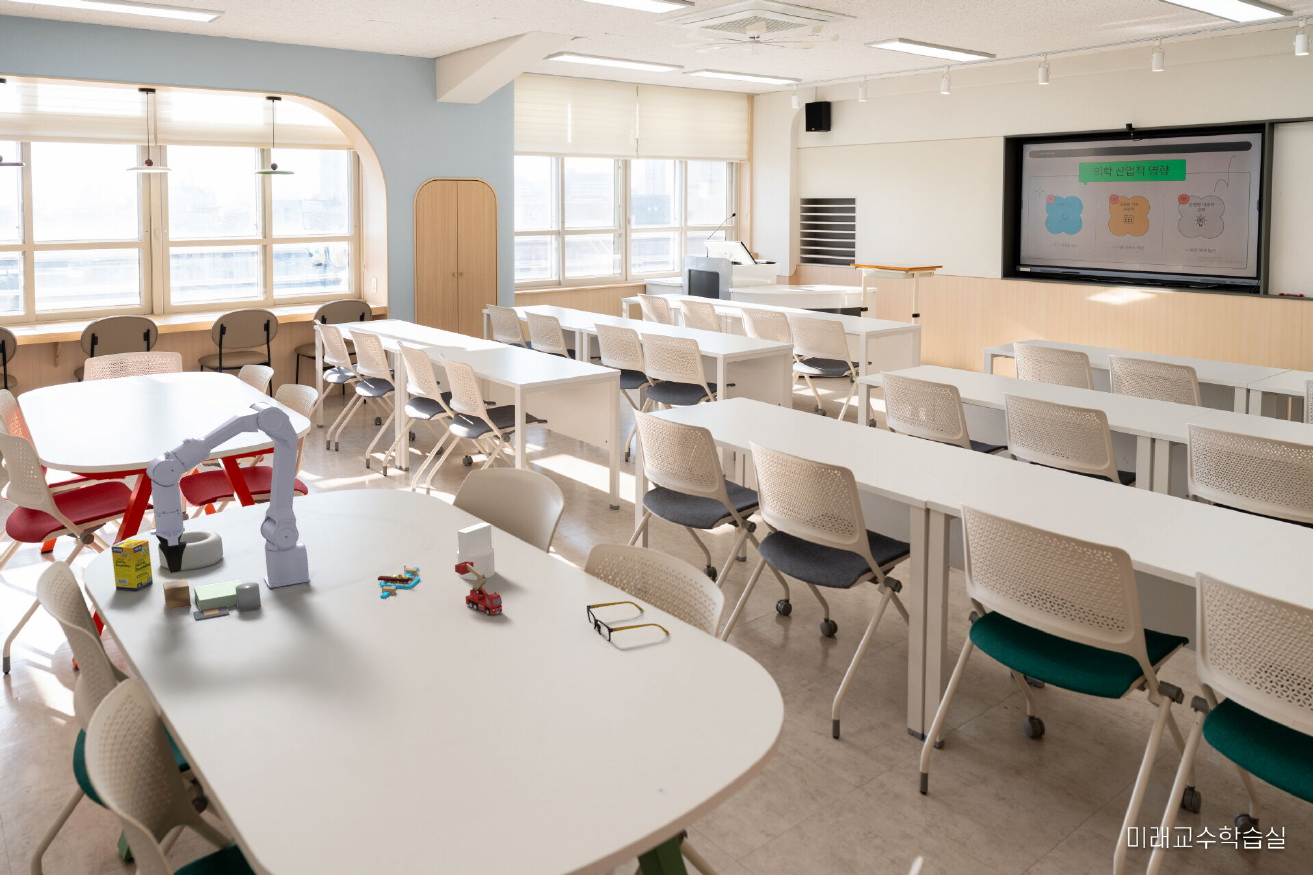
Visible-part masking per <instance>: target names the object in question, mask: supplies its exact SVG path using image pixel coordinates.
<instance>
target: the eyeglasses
mask: <svg viewBox="0 0 1313 875" xmlns="http://www.w3.org/2000/svg"><path fill="white" fill-rule="evenodd" d="M622 604H630V605H632V606H635V608H637V610H638V611H640V612H642V611H644V609H643V608H642V607H641V606H639V605H638V604H636V603H635V602H633V601H631V600H630V601H629V600H628V601H627V600H626V601H616V602H607V603H605V602H604V603H597V604H596V603H595V604H589V605H586V614H587V618H588V621H589V623H590V624H592V620H591V617H590V616H592V618H593V625H594V626H593V629H594V630H595V629H597V632H598V635H600V636H601V635H602V633H601V630H602V626H601V624H602V625H603V626H604V627H605V628H606V629H607V632H608V639H606V641H608V642H611V640H612V636H611V633H615V632H621V631H625V630H632V629H637V628H643V627H648V626H653V627H654V626H655V627H658V628H660V629H661V630H662V631H663V632H664V634H667V635H668V634H670V631H669V630H668V629H667V628H664V627H663V626H661V625H660V624H658V623H645V624H644V623H643V624H635V625H627V626H626V625H625V626H618V627H610V626H608V625H607V624H606V623H604V622H603V621H602V620H600V619H597V618H596V616H595V614H594V613H593V612H592V611H591V609H598V608H602V607H608V606H617V605H622Z"/></svg>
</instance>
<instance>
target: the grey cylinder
mask: <svg viewBox="0 0 1313 875" xmlns="http://www.w3.org/2000/svg"><path fill="white" fill-rule="evenodd" d="M235 589H236V598H237V605H236V607H237V611H240V612H251V611H255V610H258V609H259V608H261V606H262V602H261V594H260V593H261V592H260V585H259V583H257V582H245V583H241V584H240V585H238V586H236V588H235Z"/></svg>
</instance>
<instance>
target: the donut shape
mask: <svg viewBox="0 0 1313 875" xmlns="http://www.w3.org/2000/svg"><path fill="white" fill-rule="evenodd" d="M222 540H223V539H222V536H220V534H218V533H217V532H215V531H211V530H206V529H205V530H203V529H201V530H198V529H197V530H196V529H195V530H188V531H184V532H183V534H182V536H181V539H180V542H185V541H186V543H187V545H186V547H185V550H184V552H183V557H182V566H181V571H191V570H197V569H203V568H207V567H210V566H213V565H215V564H217V563H218V562H219V561H221V559H222V558H223V556H224V550H223V541H222ZM159 544H161V543H160V542H159V543H158V547H157V548H158V549H157V550H158V558H159V563H160V566H162V567H163V568H165V569H168V570H169V568H168V564H167V561H166V558H165V556H164V554H163V552H162V551H161V549H160V548H159Z"/></svg>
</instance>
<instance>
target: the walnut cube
mask: <svg viewBox="0 0 1313 875" xmlns="http://www.w3.org/2000/svg"><path fill="white" fill-rule="evenodd" d="M162 586H163V595H164V596H163V597H164V603H165V604H164V605H165V608H166V610H167V611H169V610H175V609H181V608H188V607H192V602H191V594H190V593H191V592H190V584H189V582H188V579H180V580H179V579H178V580H173V581H172V580H171V581H165V582H162Z"/></svg>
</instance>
